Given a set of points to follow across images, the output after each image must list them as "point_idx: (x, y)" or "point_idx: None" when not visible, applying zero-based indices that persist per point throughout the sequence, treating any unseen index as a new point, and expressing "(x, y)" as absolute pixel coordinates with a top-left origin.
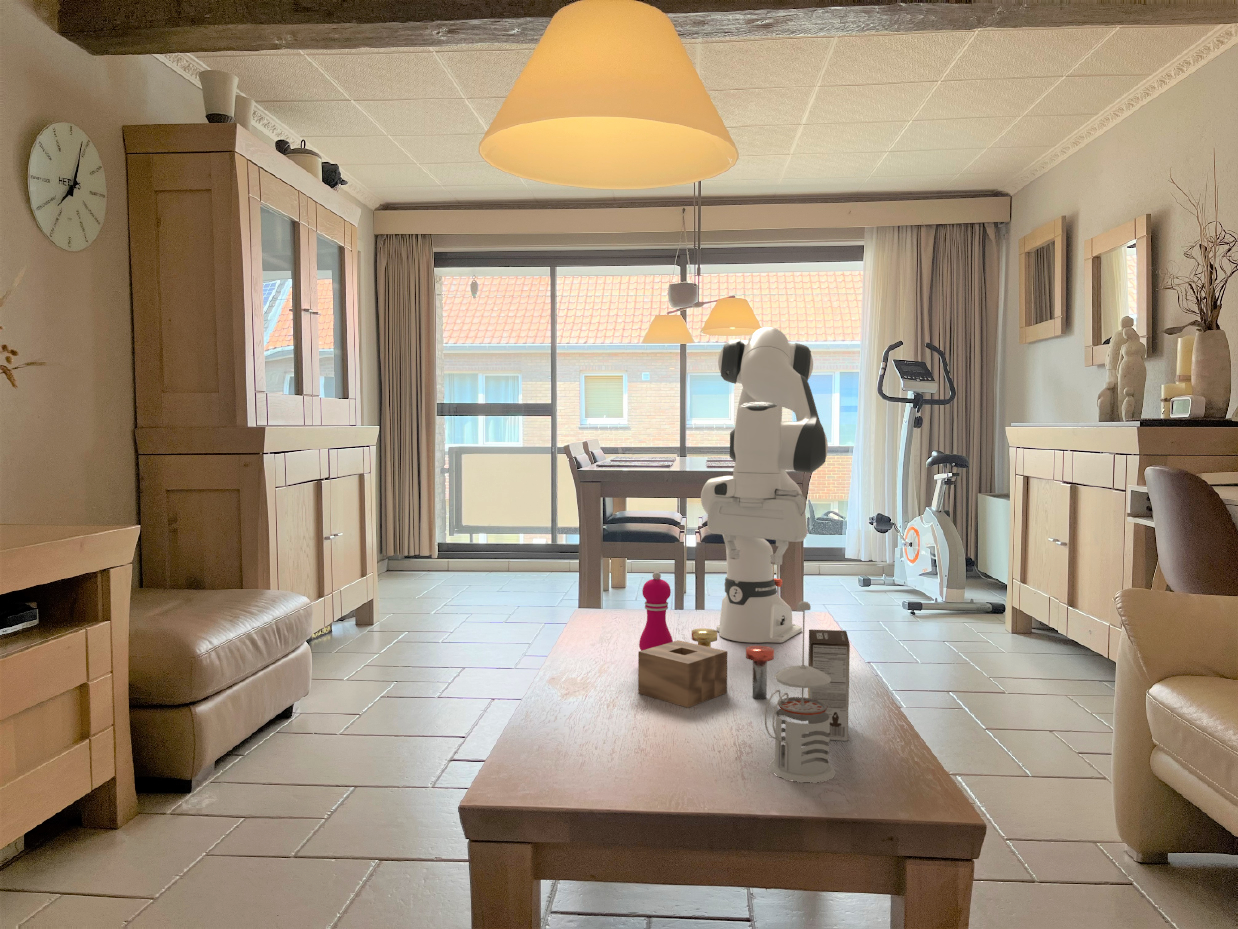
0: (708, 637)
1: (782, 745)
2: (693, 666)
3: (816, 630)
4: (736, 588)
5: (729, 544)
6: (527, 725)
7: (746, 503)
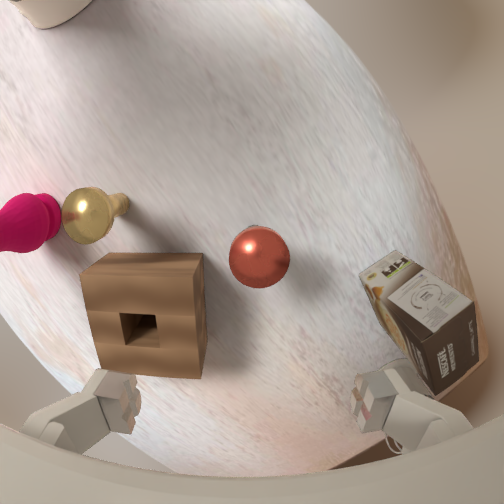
0: (106, 230)
1: None
2: (200, 364)
3: (434, 340)
4: None
5: (86, 444)
6: (144, 446)
7: None
